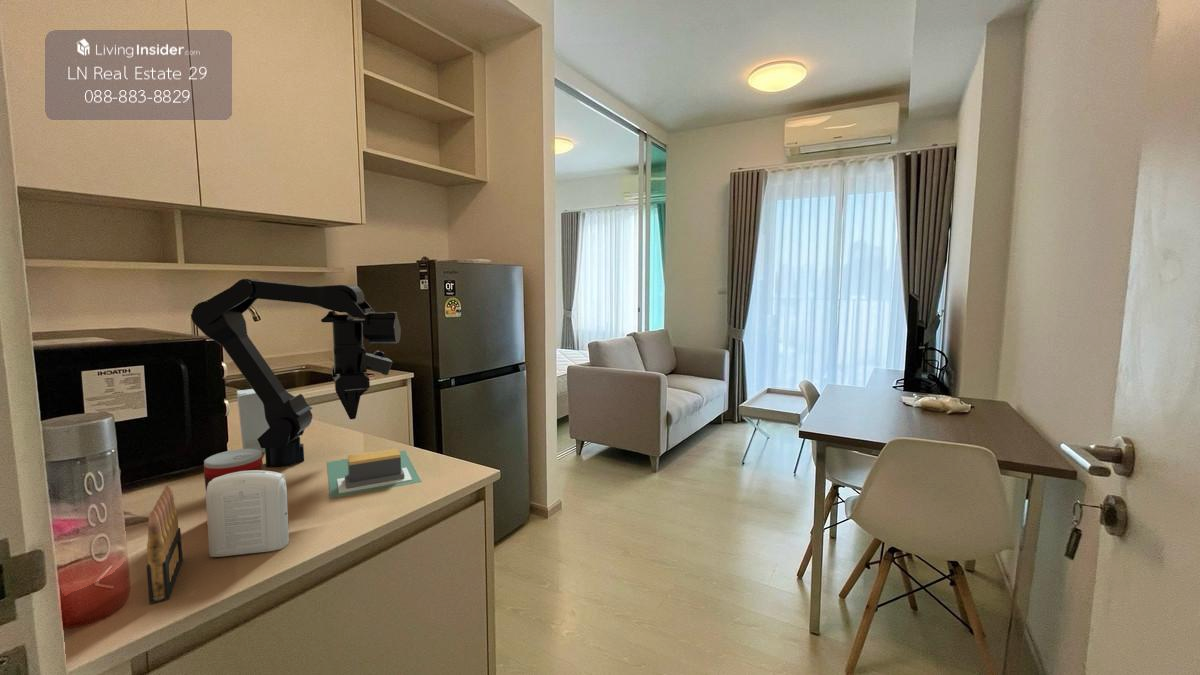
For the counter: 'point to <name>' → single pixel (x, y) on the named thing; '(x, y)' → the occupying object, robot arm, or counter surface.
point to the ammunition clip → (163, 548)
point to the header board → (344, 487)
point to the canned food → (232, 463)
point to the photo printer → (247, 513)
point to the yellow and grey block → (374, 464)
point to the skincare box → (251, 419)
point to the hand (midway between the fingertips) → (351, 413)
